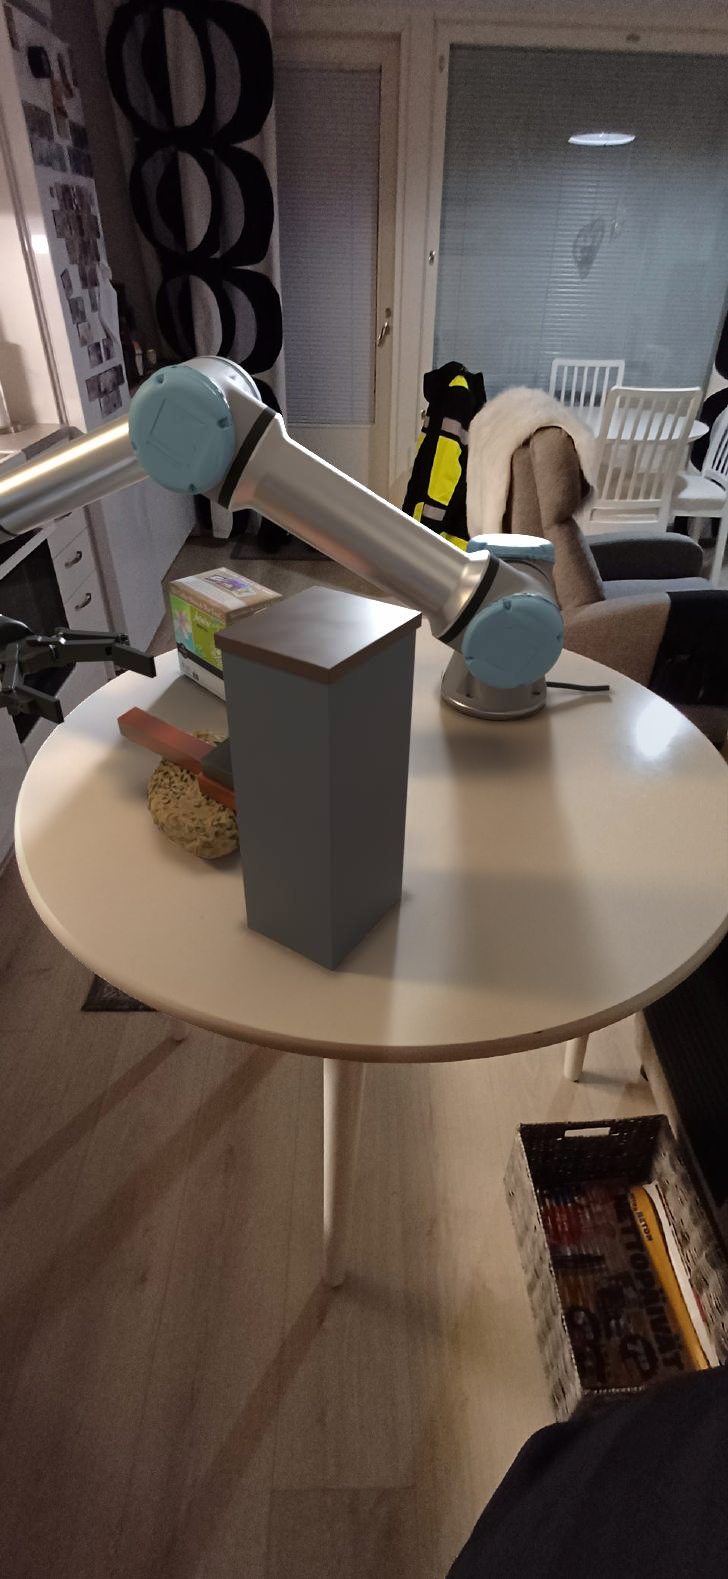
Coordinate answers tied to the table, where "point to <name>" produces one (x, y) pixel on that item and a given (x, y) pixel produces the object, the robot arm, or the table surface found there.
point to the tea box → (211, 619)
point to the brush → (184, 752)
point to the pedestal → (320, 764)
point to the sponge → (191, 809)
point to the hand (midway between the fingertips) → (108, 688)
